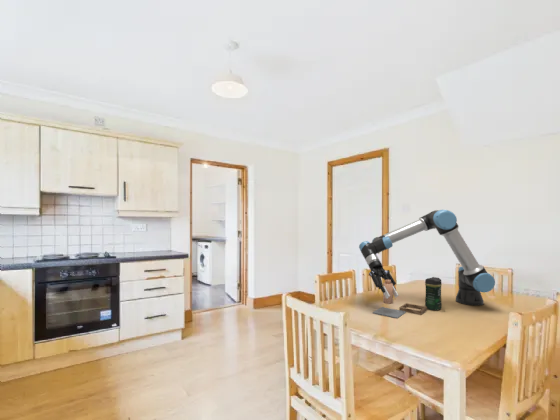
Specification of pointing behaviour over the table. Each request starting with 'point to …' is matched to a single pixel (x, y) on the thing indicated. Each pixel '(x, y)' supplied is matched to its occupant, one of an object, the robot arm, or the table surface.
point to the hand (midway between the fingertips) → (392, 296)
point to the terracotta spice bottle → (389, 288)
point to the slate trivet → (389, 312)
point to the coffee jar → (433, 293)
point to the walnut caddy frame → (404, 308)
